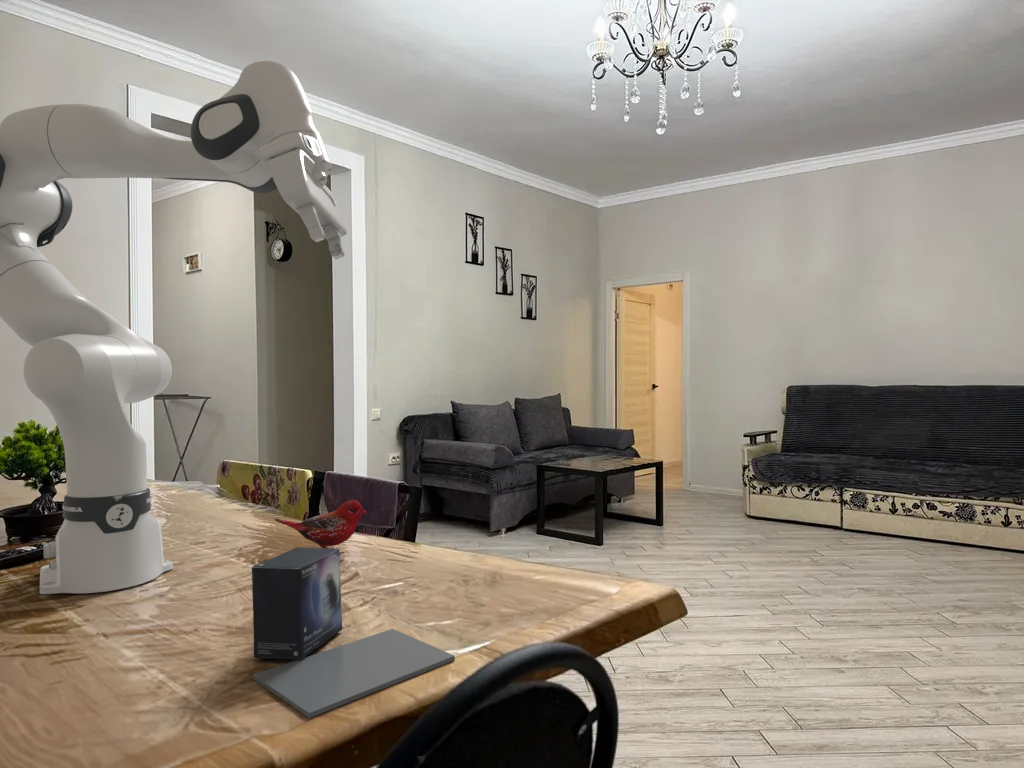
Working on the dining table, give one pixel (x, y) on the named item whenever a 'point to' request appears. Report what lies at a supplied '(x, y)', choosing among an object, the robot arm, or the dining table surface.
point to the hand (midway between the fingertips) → (329, 248)
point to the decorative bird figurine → (330, 525)
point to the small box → (296, 602)
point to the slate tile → (351, 671)
